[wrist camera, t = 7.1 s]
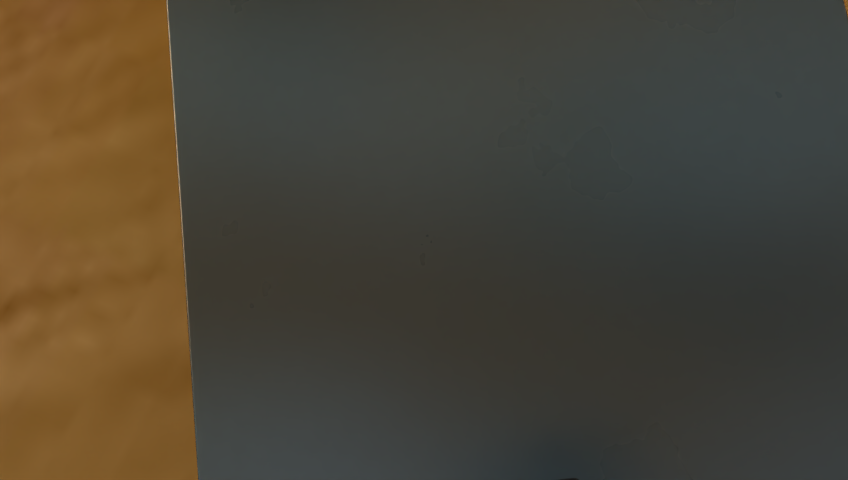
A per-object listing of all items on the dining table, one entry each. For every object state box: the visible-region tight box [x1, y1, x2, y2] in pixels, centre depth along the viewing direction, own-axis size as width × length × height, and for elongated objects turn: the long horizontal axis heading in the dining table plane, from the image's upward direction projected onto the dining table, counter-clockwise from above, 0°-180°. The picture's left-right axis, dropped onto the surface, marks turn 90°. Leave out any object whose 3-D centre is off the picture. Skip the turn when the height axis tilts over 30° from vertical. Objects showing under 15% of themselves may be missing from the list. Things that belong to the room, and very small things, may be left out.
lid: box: [166, 0, 848, 480], centre depth 14 cm, size 14×12×1 cm
